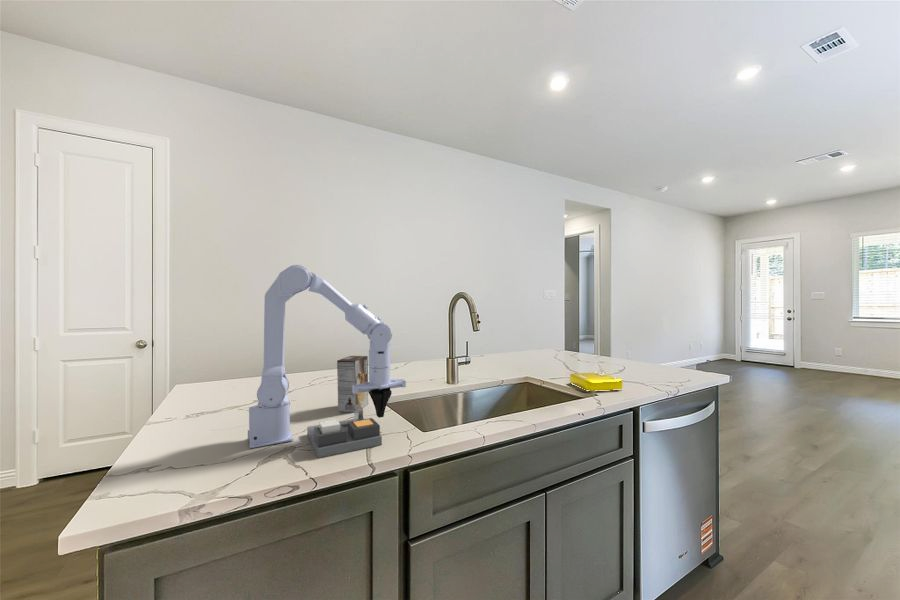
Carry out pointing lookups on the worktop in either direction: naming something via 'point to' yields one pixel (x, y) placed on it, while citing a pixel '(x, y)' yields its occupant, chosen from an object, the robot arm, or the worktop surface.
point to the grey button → (329, 426)
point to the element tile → (596, 381)
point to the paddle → (358, 412)
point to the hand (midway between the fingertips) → (380, 416)
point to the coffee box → (351, 382)
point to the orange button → (362, 423)
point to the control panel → (344, 438)
